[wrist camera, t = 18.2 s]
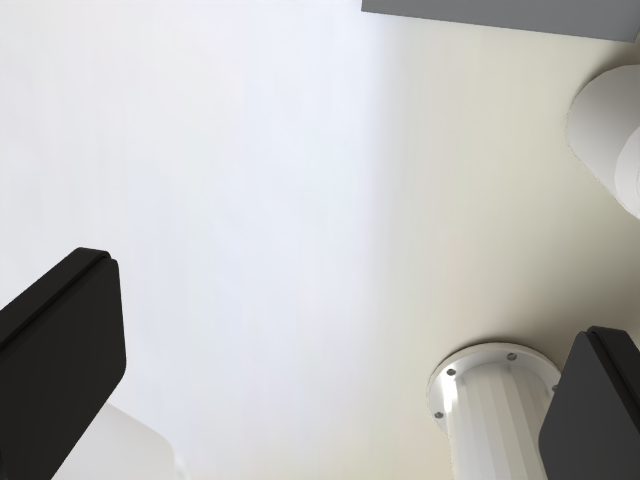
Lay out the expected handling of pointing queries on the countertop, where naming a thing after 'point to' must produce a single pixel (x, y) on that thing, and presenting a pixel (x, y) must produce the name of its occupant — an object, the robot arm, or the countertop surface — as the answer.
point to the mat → (527, 15)
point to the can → (610, 133)
